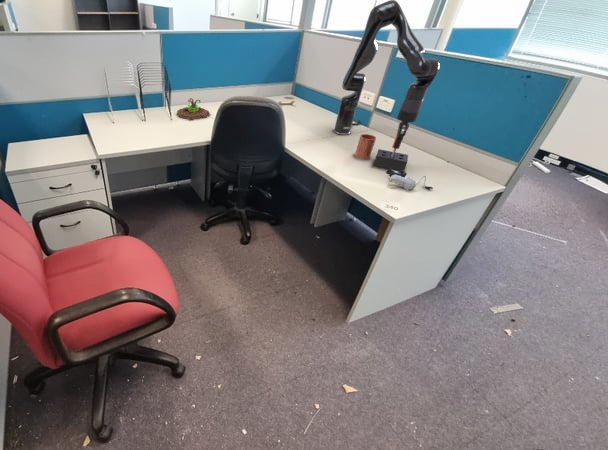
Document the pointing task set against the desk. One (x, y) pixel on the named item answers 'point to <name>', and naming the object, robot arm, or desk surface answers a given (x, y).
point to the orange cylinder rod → (395, 148)
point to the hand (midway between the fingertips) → (396, 146)
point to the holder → (390, 160)
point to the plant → (192, 111)
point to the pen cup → (365, 146)
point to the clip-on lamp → (403, 179)
